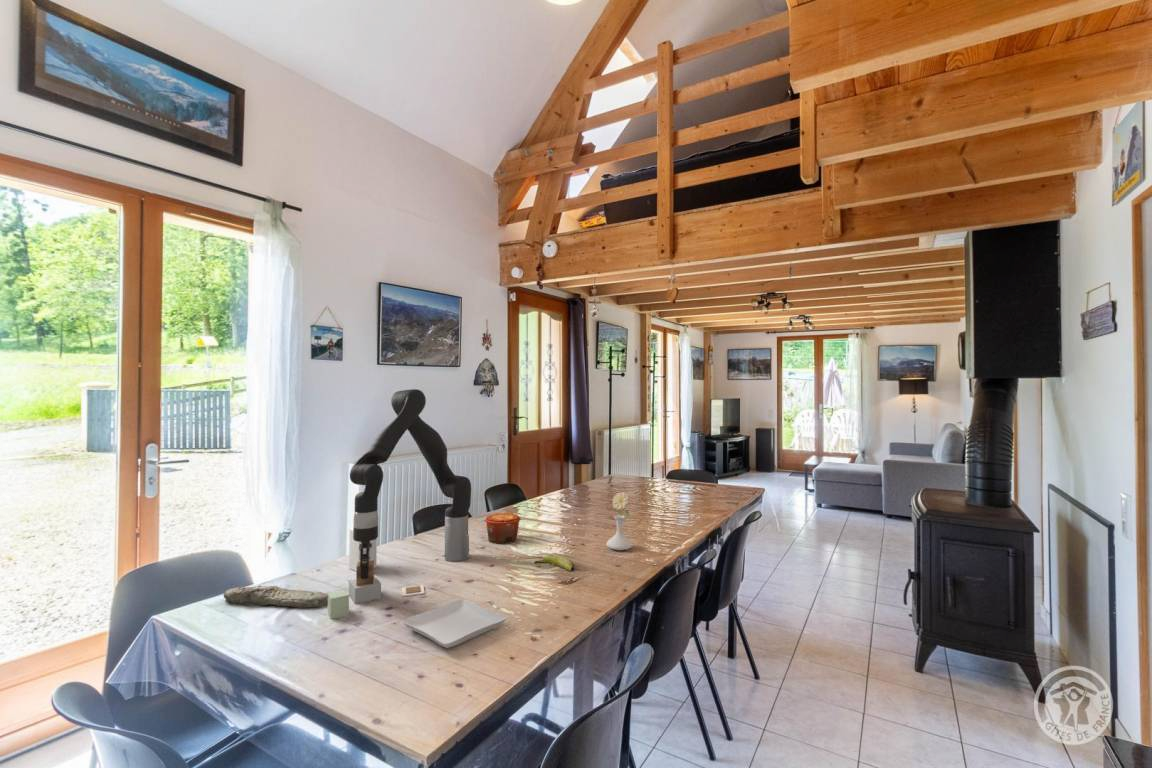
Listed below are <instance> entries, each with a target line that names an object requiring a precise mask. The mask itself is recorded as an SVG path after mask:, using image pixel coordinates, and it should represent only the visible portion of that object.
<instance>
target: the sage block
mask: <svg viewBox="0 0 1152 768" xmlns="http://www.w3.org/2000/svg"><path fill="white" fill-rule="evenodd" d="M327 595H328V603H327V615H328V617H329V619H330V620H333V619H336V618H341V617H345V616H349V615H350V614H349V613H350V596H349V591H347V589H342V590H338V591H337V590H336V591H332V592H331V591H330V592H328V593H327Z"/></svg>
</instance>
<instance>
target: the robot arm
mask: <svg viewBox="0 0 1152 768" xmlns="http://www.w3.org/2000/svg"><path fill="white" fill-rule="evenodd" d="M390 399H391V400H390V401H391V406H392V409H393V412H394V413H395V414H396V417H395V419H393V420H392V421H391V422H390V423H389V424H387V425H386V427H384V429H382V430H381V431H380V432H379V433H378V434H377V436H376V437H375V438H374V441H373V443H371V445H370V447H369V449H368V450H367V451H366V452H365V453H364V454H362V456H361V457H359V458H358V459H357V461H356V462H355V463H354V464H353V465H352V467H351V469H350V472H349V479H350V481H351V482H352V483H353V484H354V485H357V486H358V485H359V486H365V487H364V490H363V491H361V492H359V493H356V495H355V497H354V514H353V523H352V526H353V539H354V541H357V542H361V543H362V544H359V560H360V567H361V579H367V578H368V569H369V561H370V559H371V551H372V543H370V541H371V540H375V539H378V537H379V512H378V509H379V508H378V507H379V506H378V505H379V504H378V503H379V502H378V501H379V500H378V499H379V498H378V497H379V494H380V492H381V491H380V490H381V487H382V484H383V481H384V471H383V468H382V467H381V466H380V464H384V463H386V462H387V461H388V459H389V458H390V457H391V455H392V453H393V452H394V449H395V448H396V446H397V445H398V443H399V441H400V440H401V438H403V435H404V434H405V433H406V431H408V432H409V434H410V436H411V437H412V439H413V440H414V442H415V444H416V446H417V447H418V450H419V451H420V453H421V454H422V456H423V458H424V459H425V461H426V462H427V464H428V466H429V467H430V470H431V471H432V473H433V475H434V477H435V479H436V481H437V485H438V486H439V488H440V489H439V490H441V493H442V494H443V495H444V496H445V497H447V498H449V499H452V505H451V506H448V507H446V509H445V510H444V560H445V561H448V562H460V561H464V560H468V559H470V534H469V510H470V507H471V501H472V500H471V498H472V483H471V480H470V479H469V478H468V477H467V476H464V475H463V476H462V475H456V474H455V473H454V472H453V471H452V469H451V468H450V466H449V463H448V449H447V445H446V444H445V442H444V439H443V438H442V437H441V435H440V434H439V432H438V431H437V430H436V429H434V428H433V427H432V426H431V425H429V424H428V423H426V421H424V420H423V419H422V418H421V417H420V414H421V413H422V412H423V410H424V409H425V407H426V402H427V399H426V395H425V393H424V392H423V391H422V390H421V389H415V388H414V389H404V390H397V391H395V392H394V393H393V394H392V396H391V398H390ZM363 561H367V563H362V562H363Z"/></svg>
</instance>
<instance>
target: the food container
mask: <svg viewBox="0 0 1152 768" xmlns="http://www.w3.org/2000/svg"><path fill="white" fill-rule="evenodd" d="M520 521H521V517H520V516H519V515H518V514H516V513H511V512H504V513H500V512H499V513H493V514H490V515H487V516H486V518H485V523H486V531H487V540H488V542H489V543H492V544H495V543H496V545H505V544H506V543H508V544H512V543H511V542H513V543H515V542H516V541H517V539H518V531H519V525H520ZM514 541H515V542H514Z"/></svg>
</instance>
